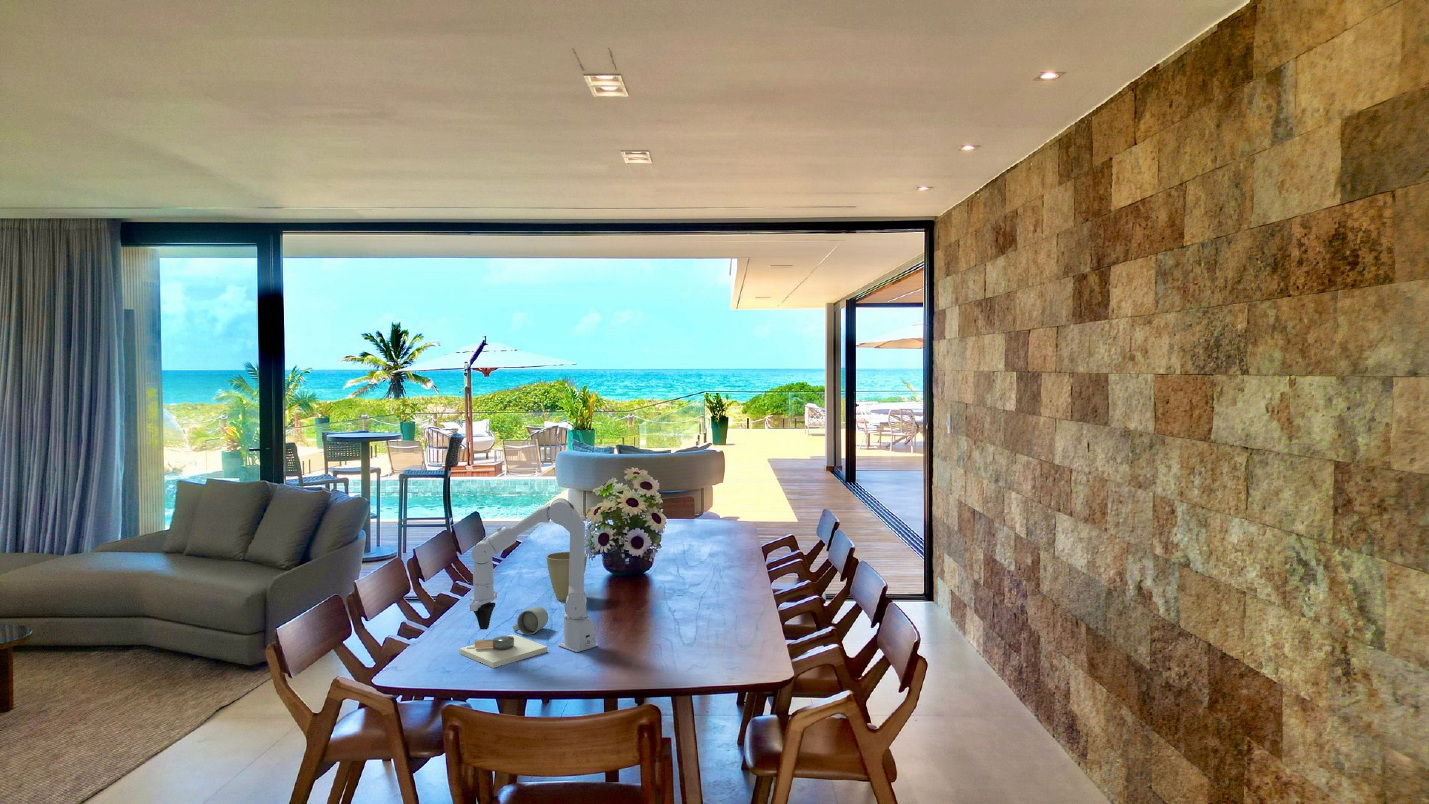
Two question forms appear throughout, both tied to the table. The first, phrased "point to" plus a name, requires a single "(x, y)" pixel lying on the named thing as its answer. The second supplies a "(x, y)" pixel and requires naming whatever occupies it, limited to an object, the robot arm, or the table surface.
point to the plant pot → (560, 573)
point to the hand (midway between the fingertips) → (484, 628)
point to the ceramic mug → (531, 620)
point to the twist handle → (496, 643)
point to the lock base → (504, 652)
